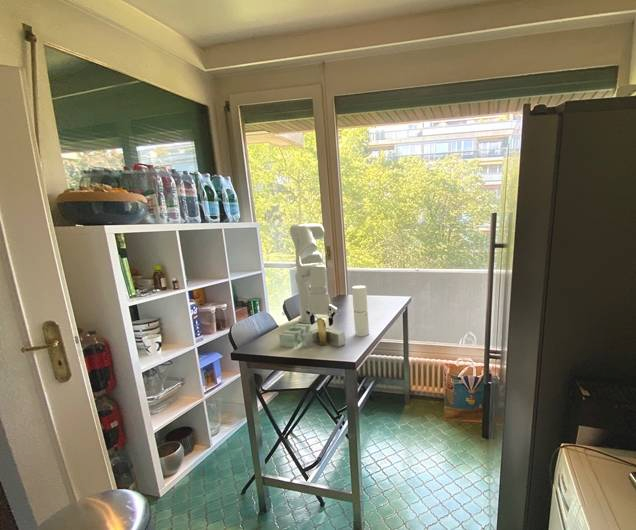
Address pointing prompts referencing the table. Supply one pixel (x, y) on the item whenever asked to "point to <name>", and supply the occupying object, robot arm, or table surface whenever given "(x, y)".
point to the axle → (322, 331)
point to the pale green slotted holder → (293, 335)
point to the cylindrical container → (360, 310)
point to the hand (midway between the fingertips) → (321, 324)
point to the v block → (332, 338)
